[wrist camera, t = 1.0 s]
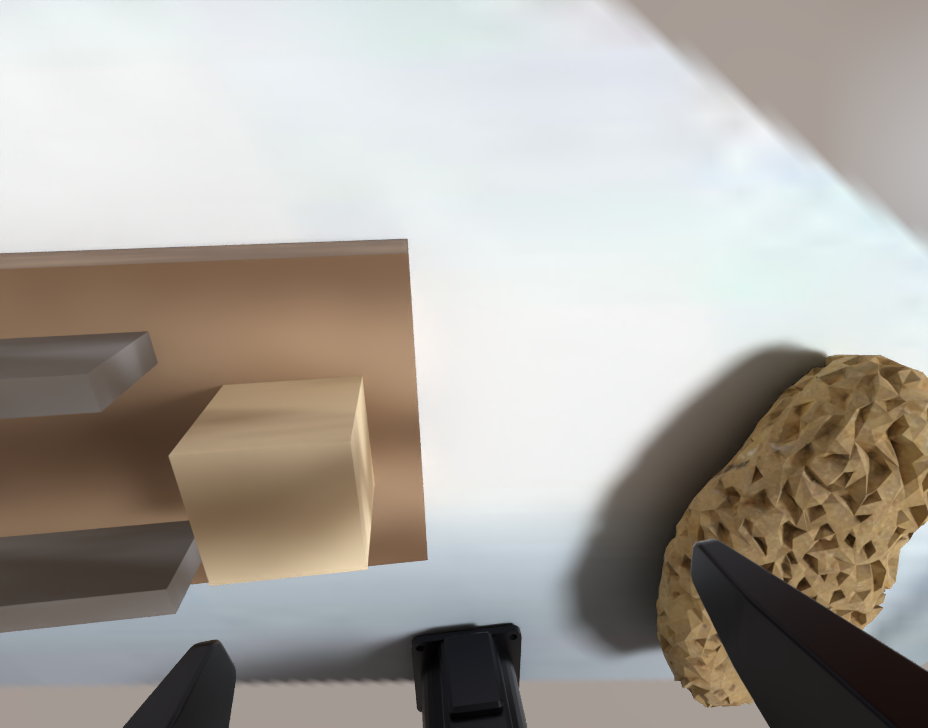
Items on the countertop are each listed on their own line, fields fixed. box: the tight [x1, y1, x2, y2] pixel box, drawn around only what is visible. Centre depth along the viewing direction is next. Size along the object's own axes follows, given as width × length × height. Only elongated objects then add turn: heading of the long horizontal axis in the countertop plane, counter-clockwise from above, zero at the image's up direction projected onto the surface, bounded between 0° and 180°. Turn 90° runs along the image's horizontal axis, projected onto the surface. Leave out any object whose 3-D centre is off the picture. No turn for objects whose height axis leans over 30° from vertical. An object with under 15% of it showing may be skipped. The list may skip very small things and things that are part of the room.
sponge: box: [656, 355, 928, 707], centre depth 25 cm, size 13×8×20 cm
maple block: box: [169, 376, 375, 586], centre depth 17 cm, size 5×5×4 cm
